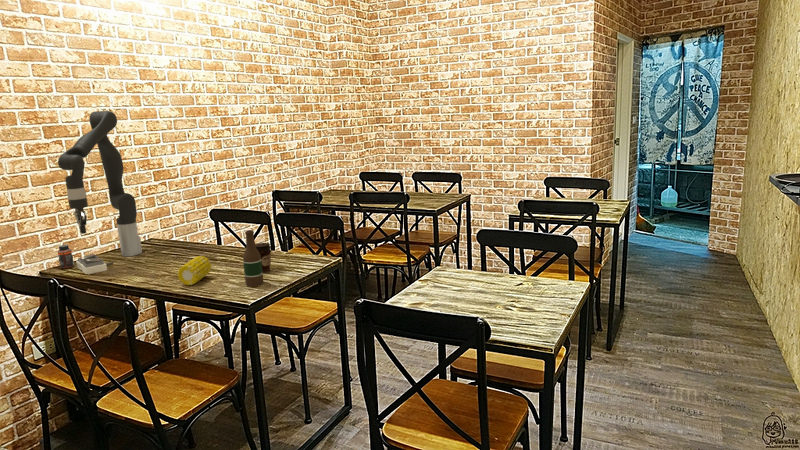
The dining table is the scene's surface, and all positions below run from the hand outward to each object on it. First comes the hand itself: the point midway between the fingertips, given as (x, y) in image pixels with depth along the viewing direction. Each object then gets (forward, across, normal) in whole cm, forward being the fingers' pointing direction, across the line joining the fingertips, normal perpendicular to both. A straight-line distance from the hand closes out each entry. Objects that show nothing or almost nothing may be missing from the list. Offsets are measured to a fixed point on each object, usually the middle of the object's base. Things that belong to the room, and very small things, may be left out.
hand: (83, 233), depth 253 cm
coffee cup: (+19, -64, -58) cm, 89 cm away
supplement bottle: (+19, +16, +6) cm, 26 cm away
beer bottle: (+19, -77, -46) cm, 92 cm away
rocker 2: (+14, 0, -2) cm, 15 cm away
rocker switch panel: (+19, +5, -4) cm, 20 cm away
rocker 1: (+14, +9, -2) cm, 17 cm away
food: (+19, -54, -30) cm, 64 cm away
